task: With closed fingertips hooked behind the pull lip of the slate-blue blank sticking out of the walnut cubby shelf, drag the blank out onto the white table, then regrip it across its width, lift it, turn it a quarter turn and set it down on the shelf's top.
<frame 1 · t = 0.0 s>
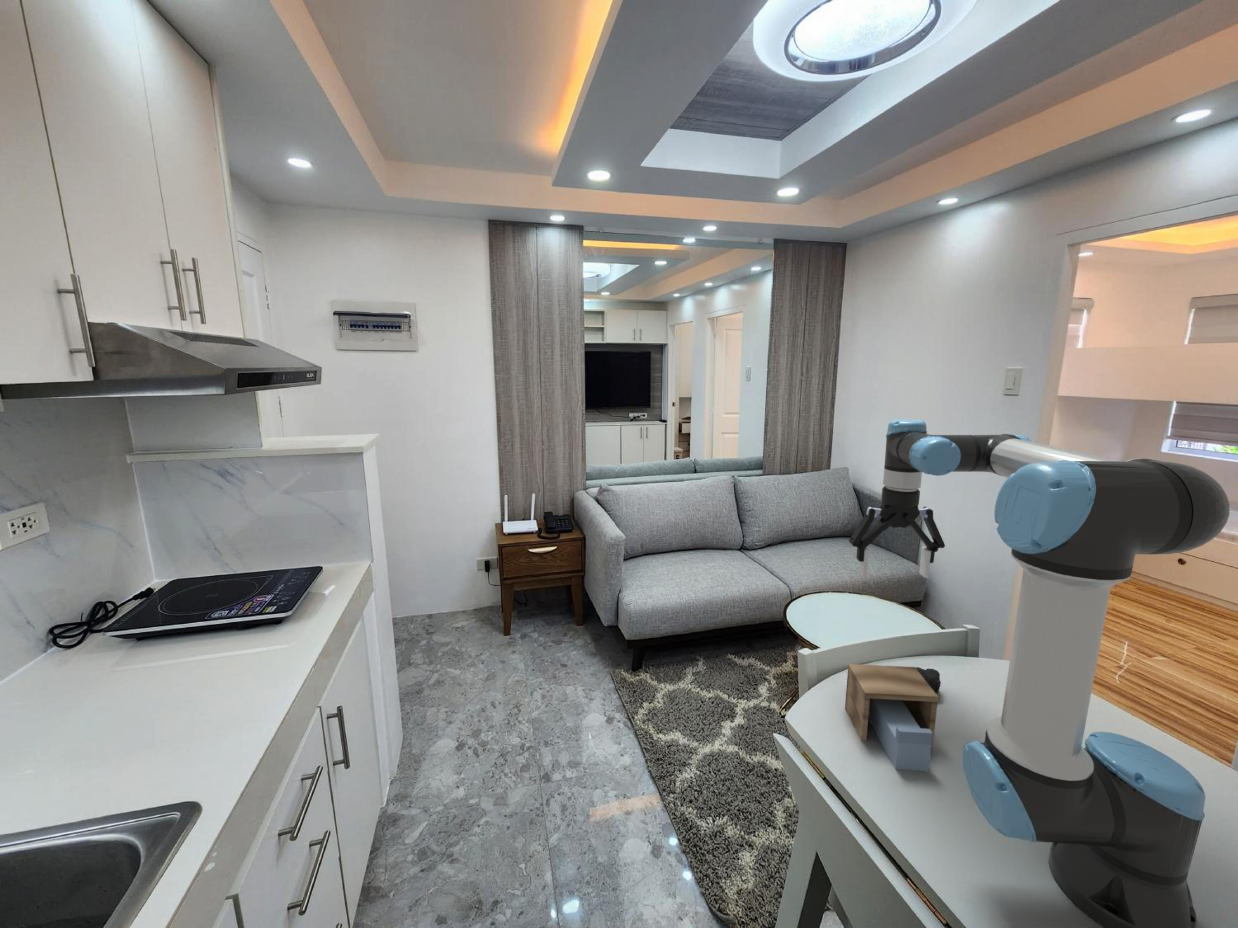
hand: (893, 574, 117), 28 cm above the table, fingers open, 13 cm apart
shelf: (886, 725, 107), on the table
rock: (914, 694, 117), on the table
blank: (896, 743, 102), on the table
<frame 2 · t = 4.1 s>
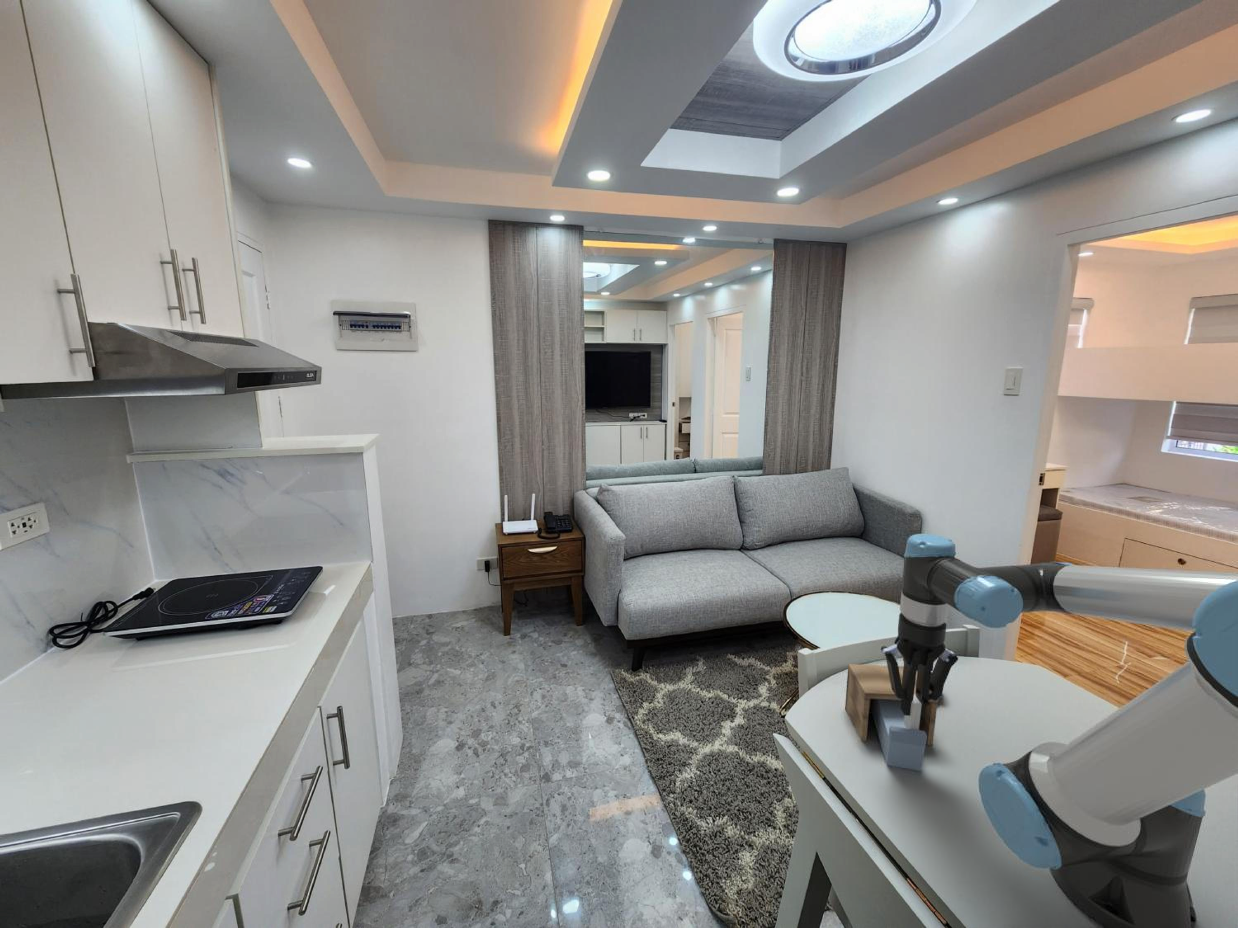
hand: (910, 728, 96), 7 cm above the table, fingers closed
rock: (916, 696, 116), on the table
blank: (894, 738, 102), point 1 cm above the table, tilted 7°, touching gripper
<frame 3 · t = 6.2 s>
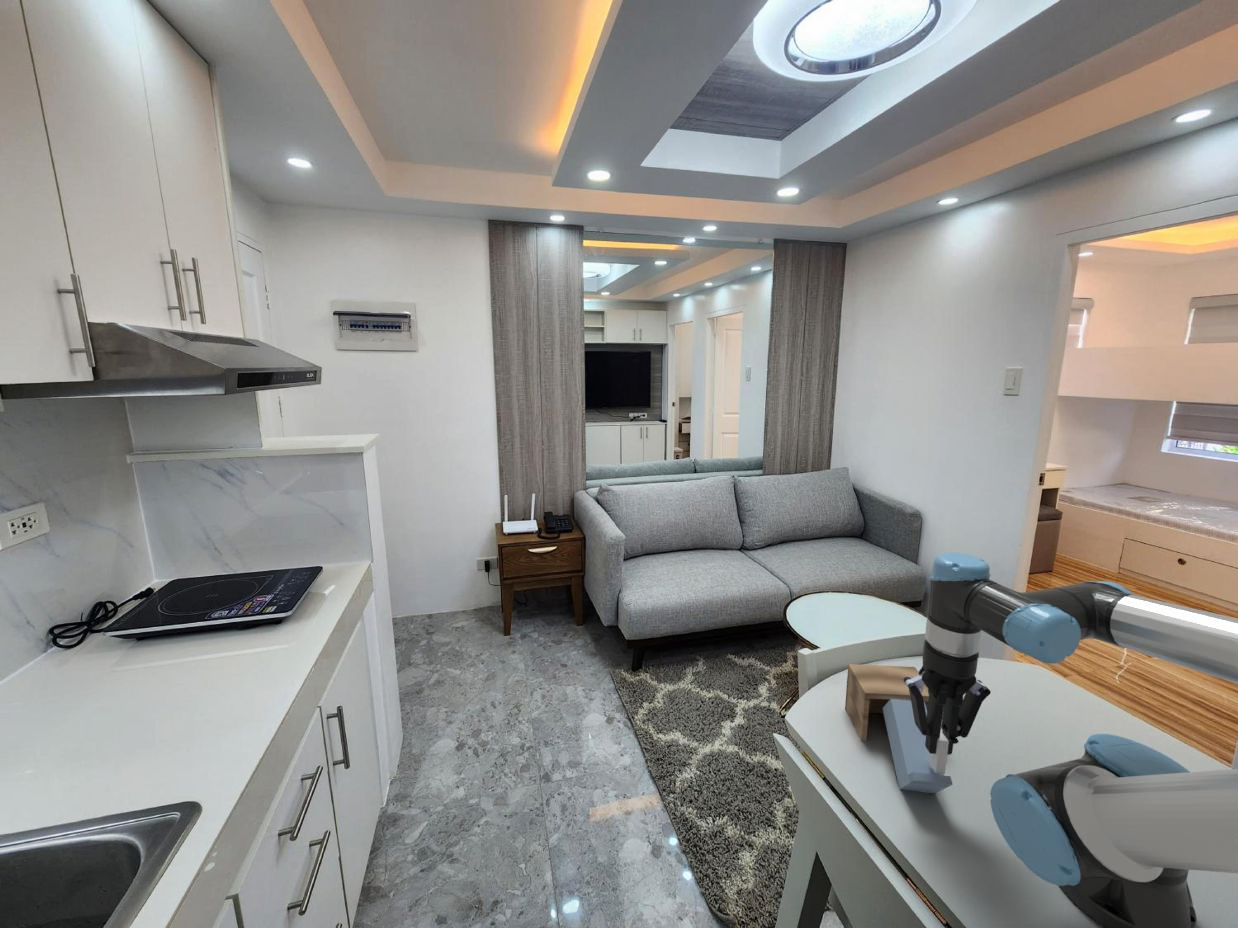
hand: (936, 767, 86), 7 cm above the table, fingers closed
blank: (907, 748, 95), point 4 cm above the table, tilted 37°, touching gripper
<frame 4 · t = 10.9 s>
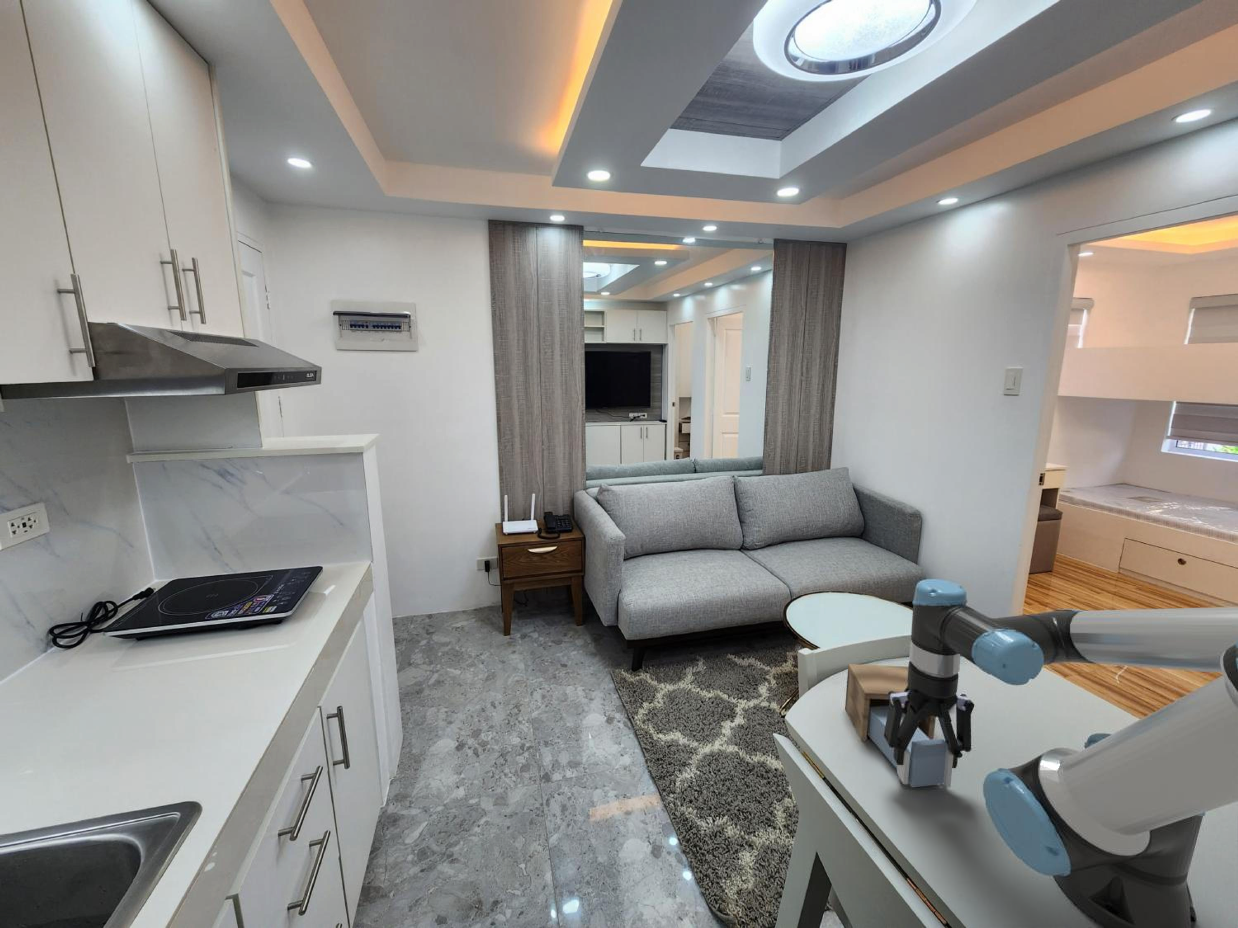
hand: (923, 779, 91), 1 cm above the table, fingers closed on blank, 7 cm apart
blank: (901, 756, 97), point 1 cm above the table, touching gripper
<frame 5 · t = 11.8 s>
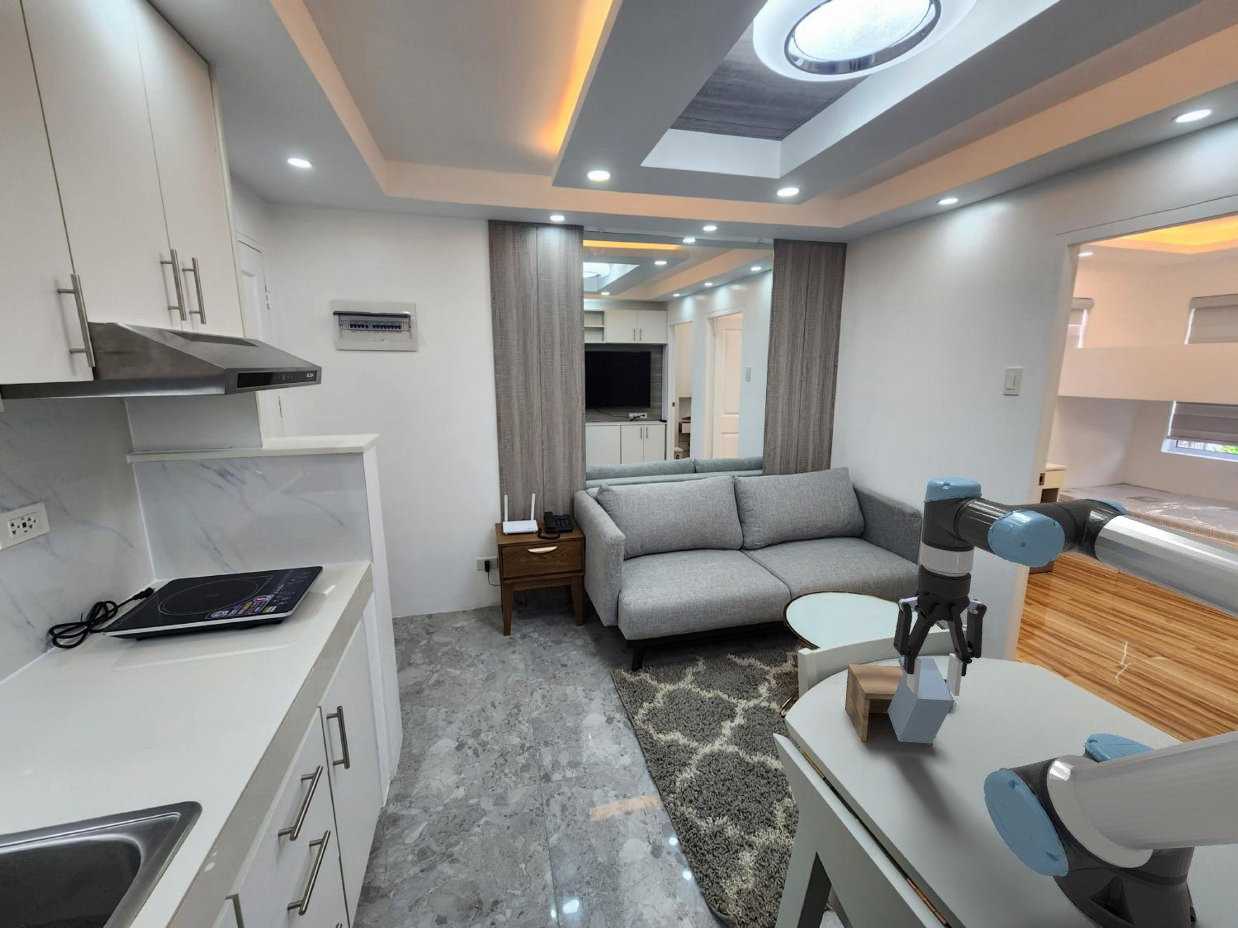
hand: (932, 689, 88), 20 cm above the table, fingers closed on blank, 6 cm apart
blank: (925, 721, 90), point 12 cm above the table, tilted 68°, touching gripper
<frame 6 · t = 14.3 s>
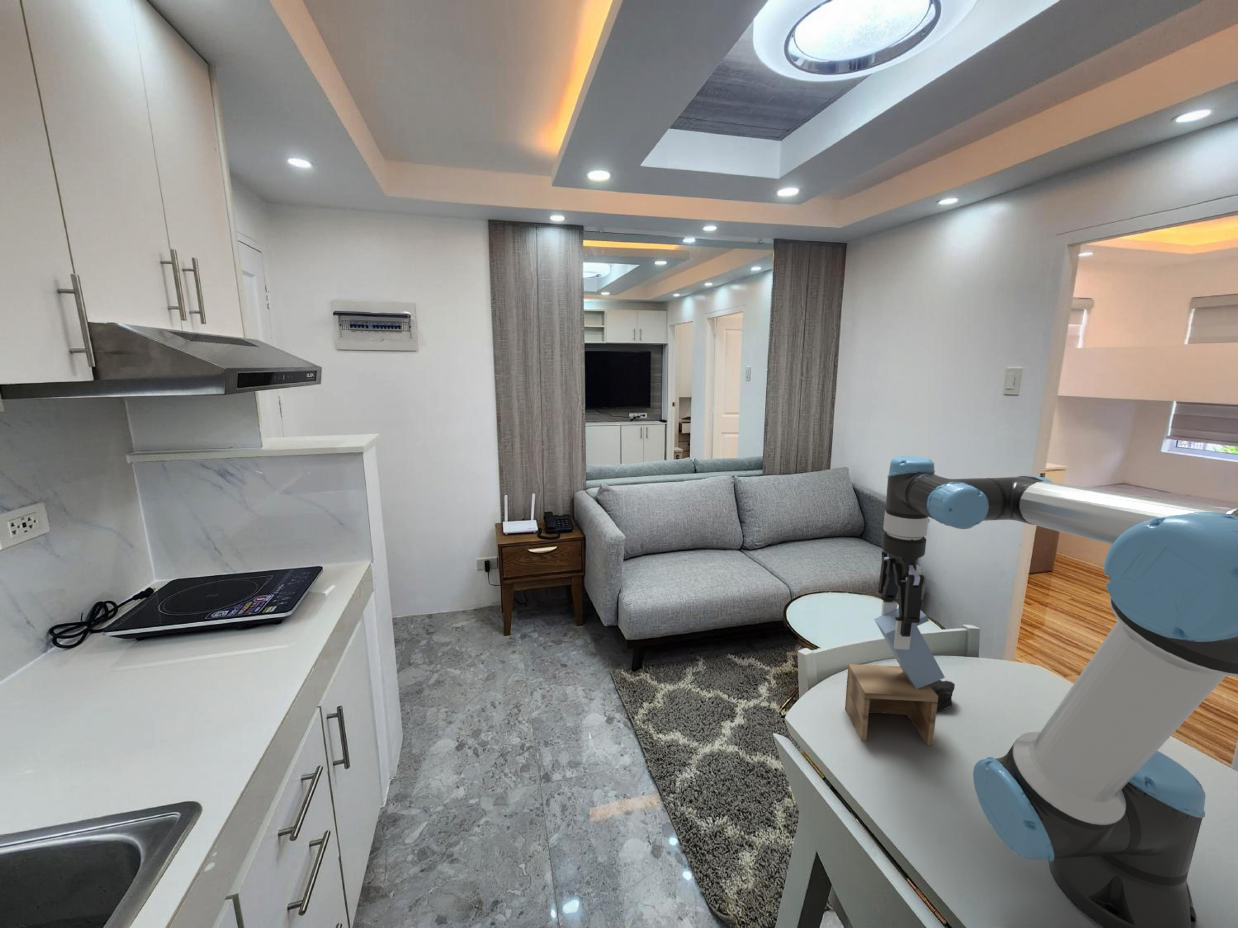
hand: (894, 638, 103), 21 cm above the table, fingers open, 6 cm apart
blank: (894, 653, 103), point 17 cm above the table, tilted 60°, touching gripper, shelf
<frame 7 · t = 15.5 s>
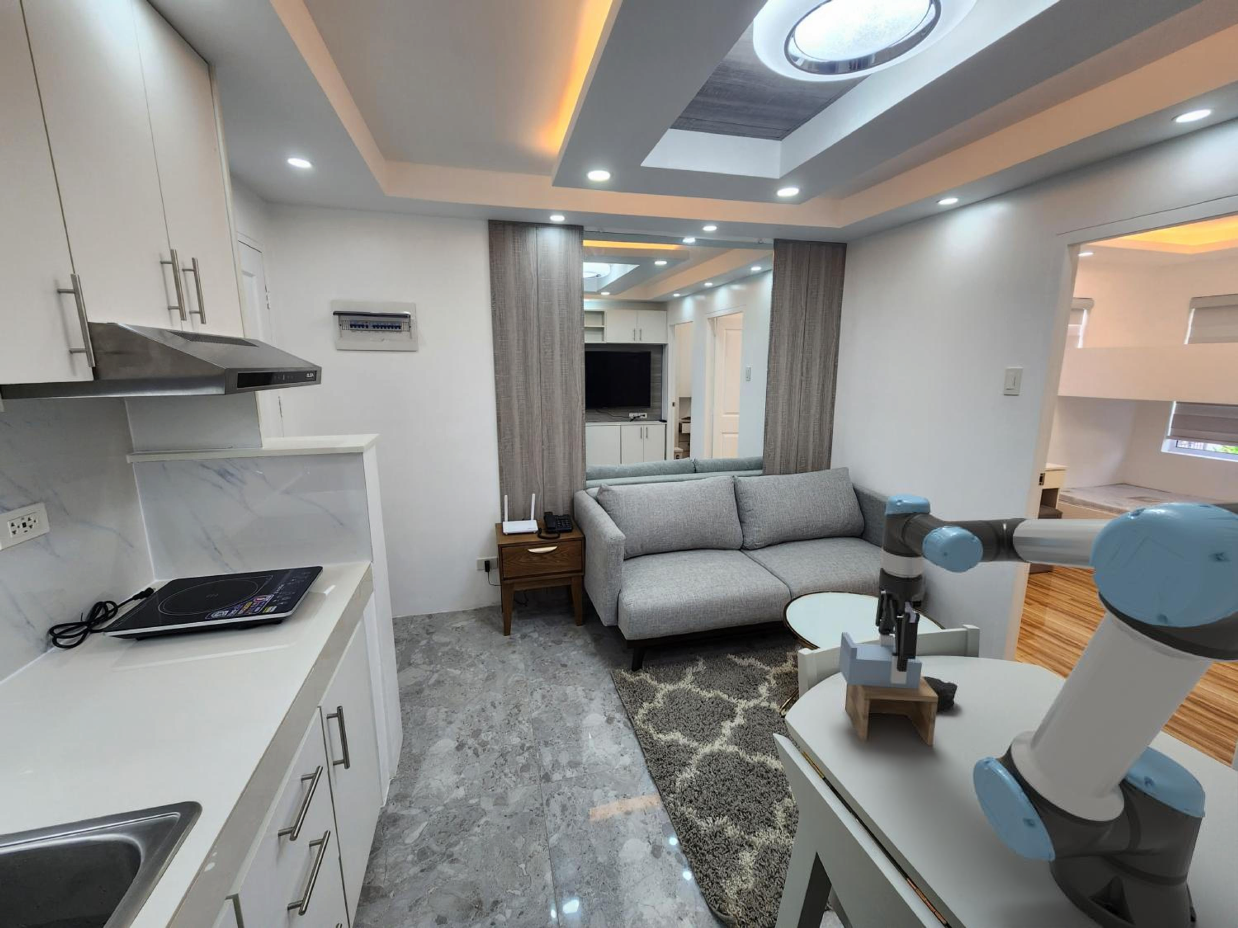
hand: (890, 672, 105), 13 cm above the table, fingers closed on blank, 6 cm apart
blank: (877, 677, 105), point 11 cm above the table, touching gripper
when the fingers open (12 cm above the table, at t = 16.1 s): blank stays where it is, resting on shelf.
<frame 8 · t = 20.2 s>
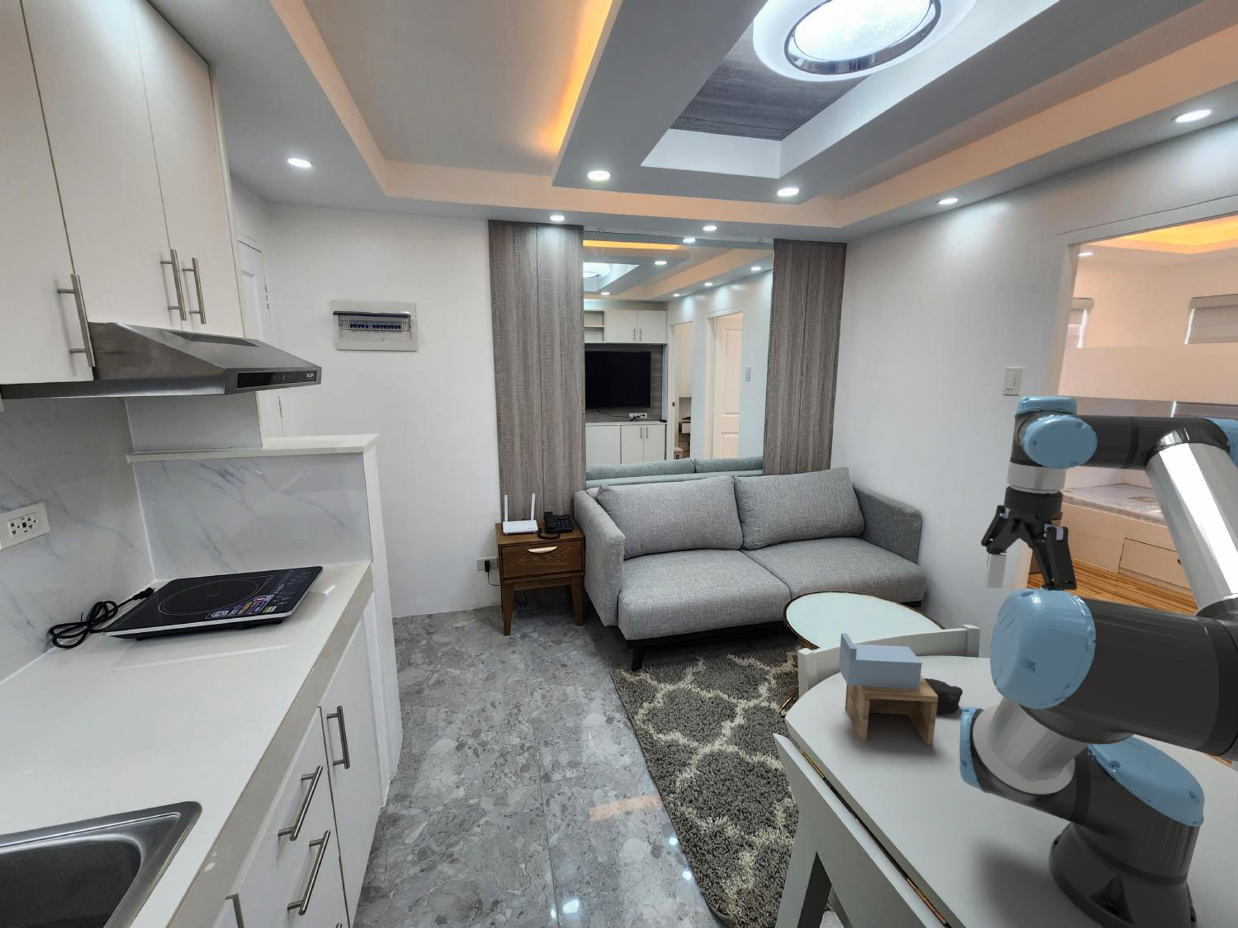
hand: (1017, 603, 88), 35 cm above the table, fingers open, 13 cm apart
blank: (877, 678, 105), point 11 cm above the table, touching shelf
at the end: blank inside the target area (2.7 cm from its centre), point 11.2 cm above the table; blank tilted 0°; the gripper is holding nothing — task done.
